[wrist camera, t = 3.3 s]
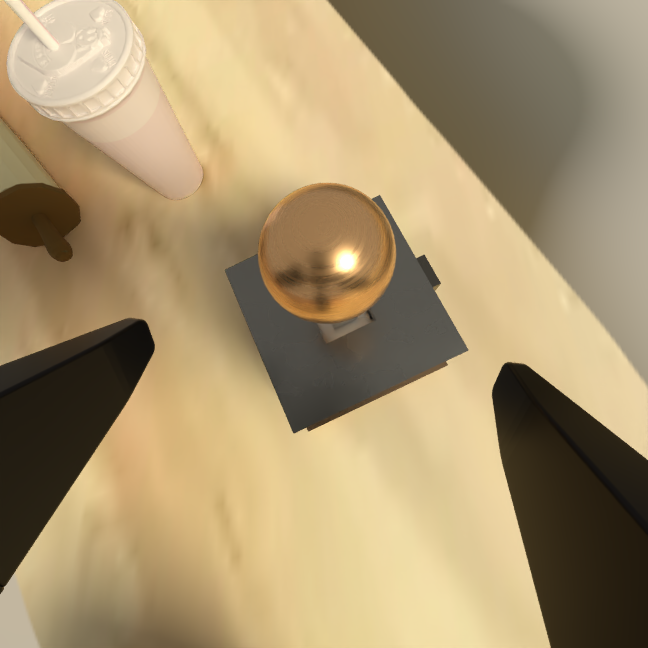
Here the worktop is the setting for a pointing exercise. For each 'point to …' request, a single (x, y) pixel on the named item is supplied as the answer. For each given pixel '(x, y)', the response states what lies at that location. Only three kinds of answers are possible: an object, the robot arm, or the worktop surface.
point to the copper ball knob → (327, 256)
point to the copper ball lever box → (350, 341)
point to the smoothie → (102, 88)
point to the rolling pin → (32, 201)
